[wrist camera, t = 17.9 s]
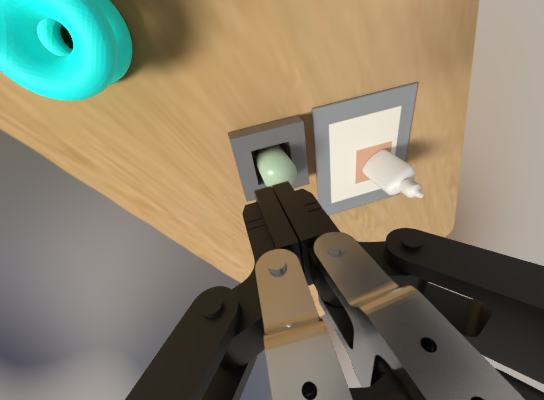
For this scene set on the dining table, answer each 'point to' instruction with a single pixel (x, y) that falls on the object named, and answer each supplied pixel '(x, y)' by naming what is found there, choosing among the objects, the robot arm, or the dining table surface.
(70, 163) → the dining table surface
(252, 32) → the dining table surface
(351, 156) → the sketch board
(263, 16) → the dining table surface
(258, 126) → the button housing
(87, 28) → the donuts
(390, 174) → the eye dropper bottle
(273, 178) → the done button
